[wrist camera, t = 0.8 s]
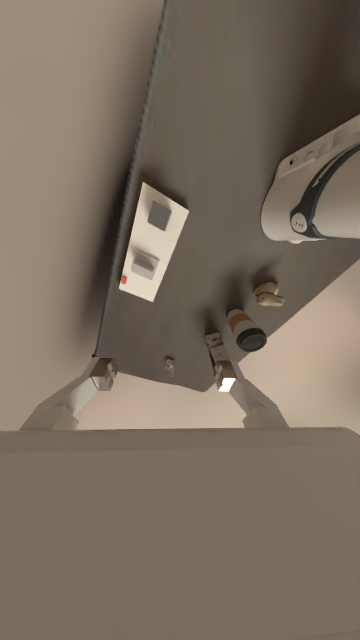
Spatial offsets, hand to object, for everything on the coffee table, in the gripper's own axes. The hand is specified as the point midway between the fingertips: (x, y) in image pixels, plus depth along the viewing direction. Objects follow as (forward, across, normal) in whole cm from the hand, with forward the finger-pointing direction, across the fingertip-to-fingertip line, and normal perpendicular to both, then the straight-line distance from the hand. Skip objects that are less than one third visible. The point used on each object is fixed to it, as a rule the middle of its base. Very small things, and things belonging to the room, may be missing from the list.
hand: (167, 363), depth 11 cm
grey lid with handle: (+33, +8, 0) cm, 34 cm away
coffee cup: (+35, -24, +17) cm, 46 cm away
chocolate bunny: (+35, -31, +6) cm, 48 cm away
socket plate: (+35, +7, -2) cm, 36 cm away
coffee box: (+36, -19, +31) cm, 51 cm away
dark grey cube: (+33, +3, -11) cm, 35 cm away
